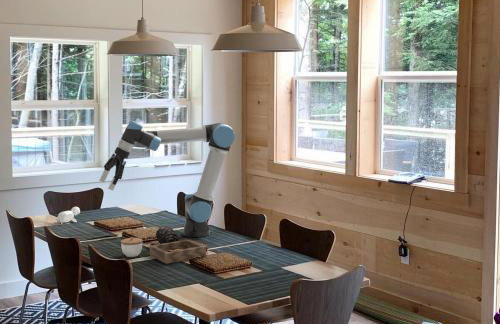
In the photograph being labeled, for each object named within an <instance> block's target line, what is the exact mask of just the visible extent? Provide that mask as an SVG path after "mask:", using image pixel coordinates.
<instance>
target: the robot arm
mask: <svg viewBox="0 0 500 324" xmlns="http://www.w3.org/2000/svg"><path fill="white" fill-rule="evenodd" d="M235 140H236V133H235V131H234V129H233V128H232V126H230V125H228V124H225V123H223V122H217V123H211V124H204V125H202V126H200V127H199V126H198V127H188V128H176V129H175V128H174V129H161V130H151V131H150V130H144V128H143V125H142V124H140V123H138V122H137V121H134V120H129V122H128V124H127V126H126V127H125V130H124V131H123V133H122V136H121V137H120V139H119V141H118V143H117V147H115V150H114V153H112V155H111V157H110V158H109V159H108V160H107V161H106V163H104V166H103V168H104V170H103V172H102V174H101V176H100V178H99V182H101V183H105V182H106V180H107V178H108V175H109V173H110V171H111V169H113V168H114V167H115V171H114V176H113V178H112V180H111V181H110V184H109V185H108V187H107V190H110V191H114V190H115V187H116V185H117V183H118V181H119V180H122V178H123V175H124V170H125V167H126V163H127V161H126V160H127V159H128V158H129V156H130V154H131V153H130V152H132V149H133V148H134V146H135V144H136V143H137V144H138V145H141V146H143V147H145V148H146V149H149V151H150V150H151V151H153V152H156V151H158V149H159V148H160V145H165V144H166V145H167V144H180V143H192V142H193V143H194V142H204V143H208V145H207V146H208V148H209V150H208V154H207V157H206V161H205V164H204V167H203V169H202V174H201V177H200V181H199V183H198V187H197V190H196V191H195V192H194V193H186V194H185V196H184V203H185V204H184V205H185V223H184V225H183V229H182V235H183V236H184V237H191V238H202V237H207V236H210V234H211V230H210V227H209V223H208V220H209V219H210V218H211V216H212V207H213V204H214V201H215V200H214V197H213V194H214V191H215V188H216V185H217V182H218V178H219V175H220V171H221V168H222V164H223V162H224V159H225V157H226V154H228V153H230V149H231V146H232V145H233V144H234V141H235ZM125 159H126V160H125Z"/></svg>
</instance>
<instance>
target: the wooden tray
mask: <svg viewBox="0 0 500 324" xmlns="http://www.w3.org/2000/svg"><path fill="white" fill-rule="evenodd" d="M175 249H183V250H177V251H171V252H168V251H169V250H175ZM149 256H150V257H152V258H154V259H156V260H158V261H160V262H162V263H164V264H172V263H177V262H183V261H187V260H188V261H189V260H191V259H190V258H194V257H199V256H206V257H207V246H206V245H203V244H201V243H199V242H198V243H197V242H195V241H193V240H191V239H189V238H188V239H183V240H182V239H181V240H179V241H176V242H170V243H164V244H159V243H157V244H154V245H149Z"/></svg>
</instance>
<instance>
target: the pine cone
mask: <svg viewBox="0 0 500 324" xmlns="http://www.w3.org/2000/svg"><path fill="white" fill-rule="evenodd" d="M155 237H156V240H157V242H158V244H159V243H160V244H164V243H170V242H176V241H180V237H179V234H178V233H177V232H176V231H175V230H174V229H173V228H172V227H170V226H168V225H164V226H160V227H159V228H158V229H157V230H156V232H155Z"/></svg>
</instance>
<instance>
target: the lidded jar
mask: <svg viewBox="0 0 500 324" xmlns="http://www.w3.org/2000/svg"><path fill="white" fill-rule="evenodd" d="M120 244H121V245H120V246H121V251H122V253H123V254H124V255H125V256H126V257H128V258H135V257H137V256H139V255H140V254H141V252H142V250H143V239H142V238H139V237H133V236H130V237H128V238H127V237H126V238H123V239H121V240H120Z"/></svg>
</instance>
